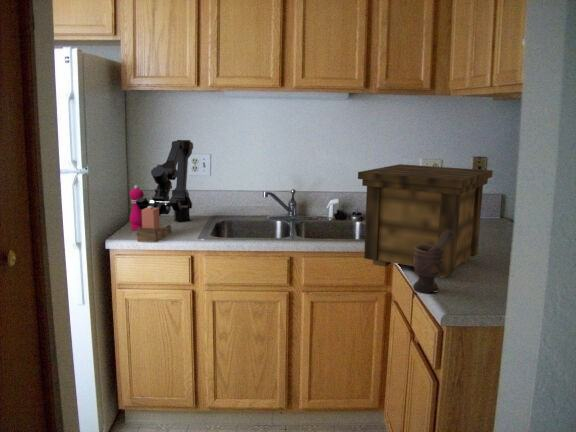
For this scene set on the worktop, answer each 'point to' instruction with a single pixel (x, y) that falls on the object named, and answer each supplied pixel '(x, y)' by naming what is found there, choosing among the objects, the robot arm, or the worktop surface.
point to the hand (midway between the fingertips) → (154, 220)
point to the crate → (422, 212)
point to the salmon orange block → (150, 218)
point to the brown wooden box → (152, 234)
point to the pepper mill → (136, 208)
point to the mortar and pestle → (429, 263)
